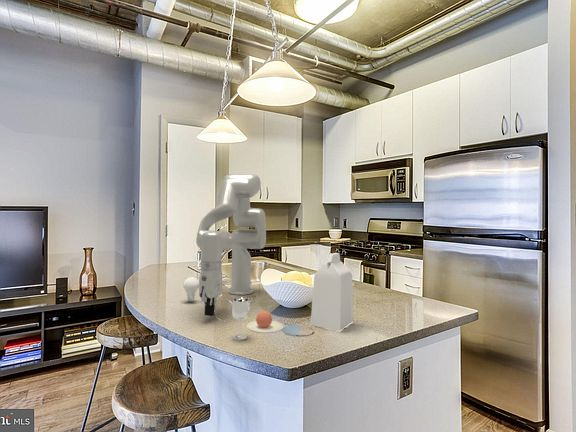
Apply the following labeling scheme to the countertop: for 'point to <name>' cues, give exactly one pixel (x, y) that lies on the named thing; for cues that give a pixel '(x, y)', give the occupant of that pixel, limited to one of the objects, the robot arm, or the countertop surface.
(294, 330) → the disc
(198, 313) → the countertop surface
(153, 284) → the countertop surface
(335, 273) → the milk
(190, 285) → the light bulb
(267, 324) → the ball
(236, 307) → the wineglass
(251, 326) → the disc
